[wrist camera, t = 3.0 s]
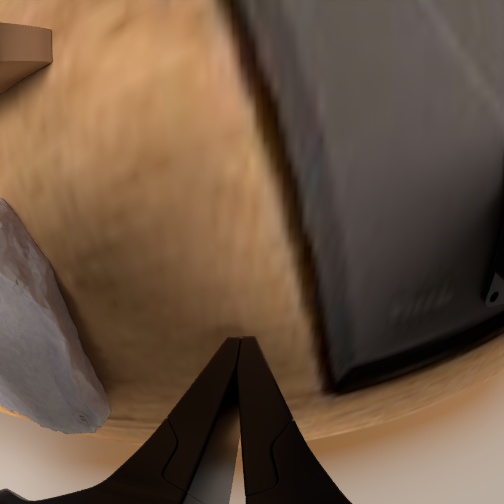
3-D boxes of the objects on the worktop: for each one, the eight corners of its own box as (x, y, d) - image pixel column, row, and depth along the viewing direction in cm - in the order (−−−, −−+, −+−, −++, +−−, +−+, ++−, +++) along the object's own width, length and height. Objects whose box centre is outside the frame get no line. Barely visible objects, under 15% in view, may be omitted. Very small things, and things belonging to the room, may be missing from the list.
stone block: (41, 161, 9) (-62, 238, 9) (-33, 199, 5) (-108, 281, 4) (150, 366, 15) (35, 382, 14) (145, 440, 10) (17, 437, 10)
